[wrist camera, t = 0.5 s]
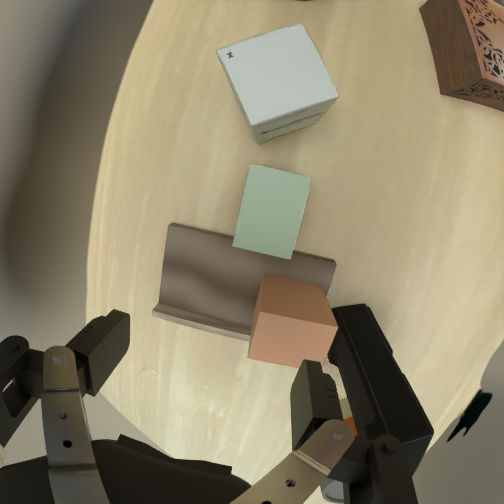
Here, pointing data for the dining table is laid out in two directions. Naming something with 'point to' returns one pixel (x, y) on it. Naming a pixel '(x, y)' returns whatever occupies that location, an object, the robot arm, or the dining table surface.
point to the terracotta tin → (291, 322)
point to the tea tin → (271, 211)
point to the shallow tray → (223, 280)
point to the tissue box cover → (467, 48)
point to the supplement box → (278, 81)
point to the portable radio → (377, 384)
